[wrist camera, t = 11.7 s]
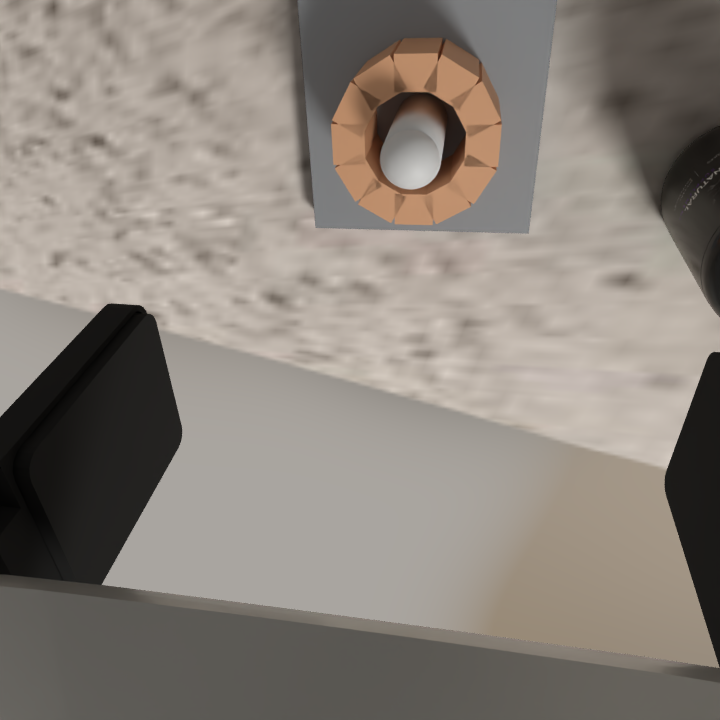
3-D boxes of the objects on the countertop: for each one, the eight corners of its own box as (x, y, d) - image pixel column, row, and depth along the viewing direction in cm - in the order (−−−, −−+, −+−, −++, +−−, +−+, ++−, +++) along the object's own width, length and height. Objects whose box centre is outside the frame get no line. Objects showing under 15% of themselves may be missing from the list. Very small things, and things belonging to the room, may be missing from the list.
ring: (344, 39, 28) (327, 54, 25) (504, 36, 27) (508, 52, 24) (351, 192, 32) (336, 222, 29) (491, 194, 31) (492, 226, 28)
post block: (304, -15, 29) (248, 5, 22) (555, -23, 27) (582, -3, 20) (321, 216, 35) (282, 290, 28) (526, 222, 33) (539, 301, 26)
